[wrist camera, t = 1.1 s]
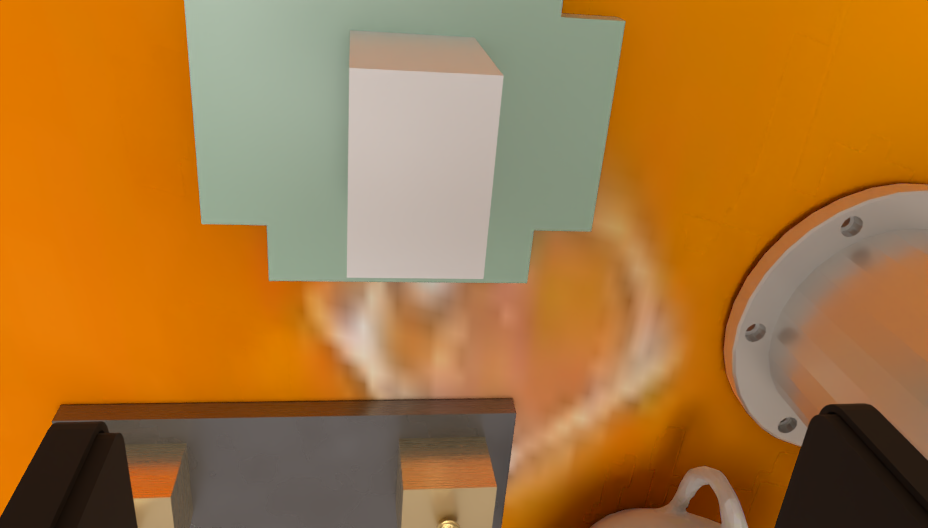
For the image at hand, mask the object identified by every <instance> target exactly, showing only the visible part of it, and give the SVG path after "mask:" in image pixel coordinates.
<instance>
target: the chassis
mask: <svg viewBox="0 0 928 528" xmlns="http://www.w3.org/2000/svg"><path fill="white" fill-rule="evenodd" d="M515 418H516V411H515V408H514V404H513V401H512V399H453V400H383V401H312V402H242V403H171V404H101V405H61V406H60V408H59V409H58V411H57V413H56V415H55V417H54V418H53V420H52V424H54V423H56V422H91V421H103V422H105V423H106V425H107V427H108V430H109V433H121V434H122V435H123V438H124V442H125V448H126V455H127V461H128V468H129V474H130V481H131V487H132V494H133V500H134V507H135V513H136V520H137V526H138V528H501V525H502V517H503V510H504V502H505V494H506V487H507V479H508V472H509V464H510V456H511V449H512V441H513V434H514V426H515Z"/></svg>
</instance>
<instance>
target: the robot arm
mask: <svg viewBox="0 0 928 528" xmlns="http://www.w3.org/2000/svg"><path fill="white" fill-rule="evenodd" d="M724 359H725V368H726V374H727V377H728V380H729V382H730V385H731V388H732V390H733V393H734V394H735V396H736V397H737V399H738V400H739V402H740V403H741V404H742V406H743V407H744V409H745V410H746V412H747V413H748V414H749V415H750V416H751V417H752V419H753V420H754V421H755V422H756V423H757V424H758V425H759V426H760V427H761V428H762V429H764V430H765V431H767V432H768V433H769V434H771V435H772V436H774V437H776V438H778V439H780V440H783V441H785V442H788V443H791V444H794V445H797V446H800V447H801V449H800V452H799V455H798V458H797V461H796V464H795V467H794V470H793V473H792V476H791V479H790V482H789V485H788V488H787V491H786V494H785V497H784V500H783V503H782V506H781V509H780V512H779V515H778V518H777V521H776V524H775V527H774V528H928V184H904V183H899V184H893V185H887V186H880V187H874V188H870V189H867V190H864V191H861V192H858V193H855V194H852V195H849V196H846V197H843V198H841V199H839V200H837V201H835V202H833V203H831V204H829V205H827V206H825V207H823V208H821V209H819V210H818V211H816V212H814V213H812V214H811V215H810V216H808V217H807V218H805V219H804V220H803V221H801V222H800V223H799V224H797V225H796V226H794V227H793V228H792V229H790V230H789V231H788V232H787V233H785V234H784V235H783V236H782V237H781V238H780V239H779V240H778V241H777V242H776V243H775V244H774V245H773V246H772V247H771V248H770V249H769V250H768V251H767V252H766V253H765V254H764V256H763V257H762V258H761V260H760V261H759V262H758V264H757V265H756V266H755V268H754V269H753V270H752V272H751V273H750V274H749V276H748V277H747V279H746V281H745V282H744V284H743V286H742V288H741V290H740V292H739V294H738V296H737V298H736V300H735V302H734V304H733V307H732V310H731V314H730V317H729V320H728V323H727V326H726V333H725V343H724ZM0 528H138V526H137V520H136V513H135V507H134V500H133V494H132V487H131V481H130V474H129V468H128V461H127V455H126V448H125V442H124V438H123V435H122V434H121V433H109V430H108V427H107V425H106V423H105V422H103V421H91V422H56V423H54V424H52V425H51V427H50V428H49V429H48V431H47V433H46V435H45V437H44V438H43V440H42V442H41V444H40V446H39V448H38V449H37V451H36V453H35V455H34V457H33V459H32V460H31V462H30V464H29V466H28V468H27V470H26V471H25V473H24V475H23V477H22V479H21V481H20V482H19V484H18V486H17V488H16V490H15V491H14V493H13V495H12V497H11V499H10V501H9V502H8V504H7V506H6V508H5V510H4V512H3V513H2V515H1V517H0Z"/></svg>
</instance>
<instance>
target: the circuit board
mask: <svg viewBox="0 0 928 528" xmlns="http://www.w3.org/2000/svg"><path fill="white" fill-rule="evenodd" d="M184 5H185V17H186V30H187V43H188V56H189V69H190V82H191V94H192V107H193V120H194V133H195V146H196V158H197V171H198V184H199V197H200V210H201V223H202V224H231V225H267V243H268V270H269V281H344V282H456V283H527V280H528V272H529V264H530V256H531V248H532V240H533V233H534V230H540V231H591V230H592V224H593V218H594V211H595V205H596V199H597V193H598V187H599V181H600V175H601V169H602V162H603V156H604V150H605V144H606V138H607V132H608V126H609V119H610V113H611V107H612V101H613V95H614V89H615V83H616V77H617V70H618V64H619V58H620V52H621V46H622V40H623V34H624V28H625V21H624V20H622V19H621V18H619V17H612V16H596V15H581V14H565V13H562V5H563V0H184Z"/></svg>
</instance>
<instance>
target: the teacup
mask: <svg viewBox="0 0 928 528" xmlns="http://www.w3.org/2000/svg"><path fill="white" fill-rule="evenodd" d="M708 484H709V485H710V486H711V488H712V489H713V490H714V492H715V494H716V496H717V498H718V501H719V506H720V514H721V520H722V523H721V524H720V523H718V522H715V521H713V520H710V519H708V518H704V517H701V516H698V515H695V514H691V513H688V512H687V511H686V508H688V504H689V501H690V499H691V498H692V497H694V495H695V493H696V491H697V490H698V489H699V488H700V487H701V486H703V485H708ZM590 528H748V526H747V522H746V519H745V516H744V513H743V510H742V508H741V505H740V502H739V500H738V497H737V495H736V493H735V492H734V490H733V488H732V487H731V485H730V483H729V481H728V480H727V478H726V477H725V475H724V474H723V473H722V472H721V471H719V470H716V469H713V468H710V467H707V466H701V467H696V468H692V469H690V470H689V471H688V472H687V473H686V474H685V476H684V478H683V479H682V481H681V483H680V485H679V488H678V490H677V492H676V494H675V496H674V498H673V499H672V501H671V502H670V503H669V504H668V505H666V506H664V507H661V508H656V509H654V508H633V509H626V510H622V511H619V512H616V513H614V514H609V515H607V516H605V517H604V518H602V519H601V520H599V521H598V522H596V523H594V524H593V525H592V526H591V527H590Z"/></svg>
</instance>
